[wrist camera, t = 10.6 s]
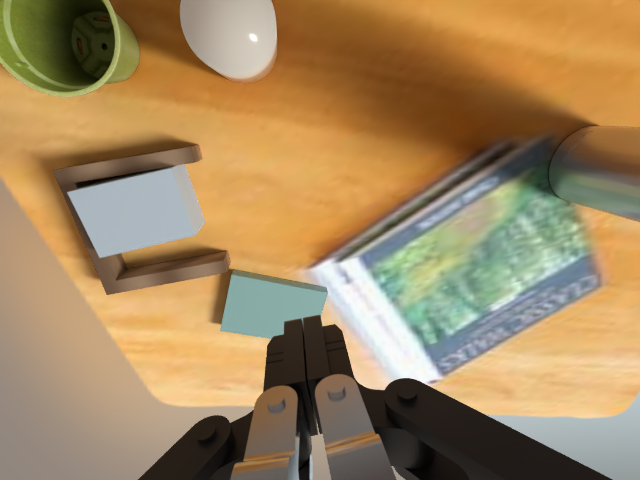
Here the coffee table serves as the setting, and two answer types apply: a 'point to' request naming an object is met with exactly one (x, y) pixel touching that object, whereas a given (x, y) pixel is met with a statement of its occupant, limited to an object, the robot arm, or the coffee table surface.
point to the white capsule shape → (232, 36)
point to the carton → (139, 210)
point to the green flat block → (268, 304)
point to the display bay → (114, 266)
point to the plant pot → (65, 45)
